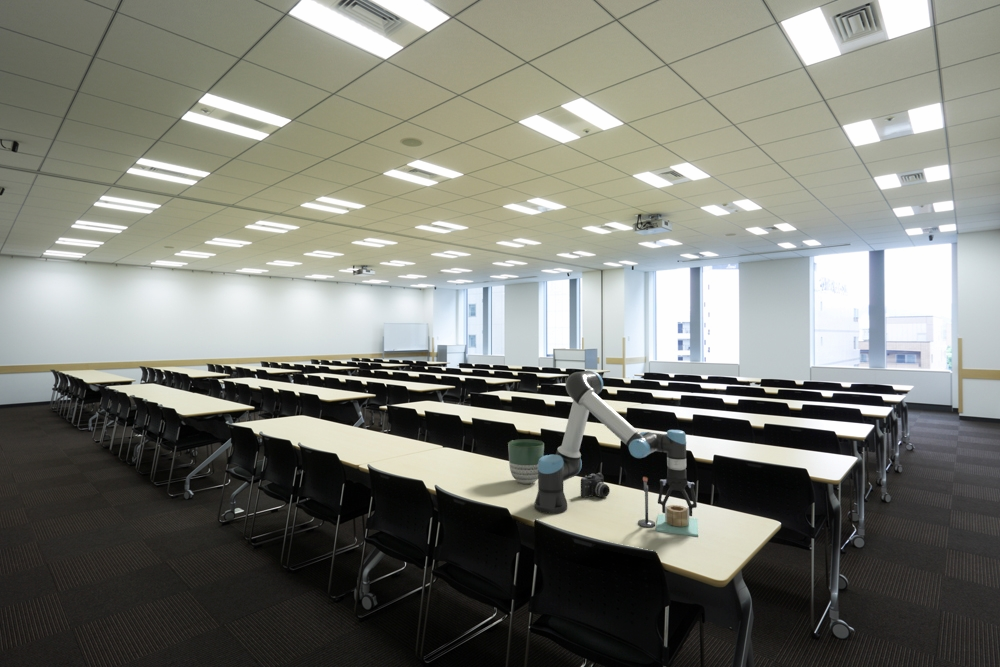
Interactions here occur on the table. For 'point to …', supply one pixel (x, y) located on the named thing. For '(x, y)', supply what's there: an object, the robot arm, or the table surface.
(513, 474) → the planter
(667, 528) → the board
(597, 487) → the camera
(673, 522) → the ring
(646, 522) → the wire post
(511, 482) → the table surface
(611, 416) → the robot arm
